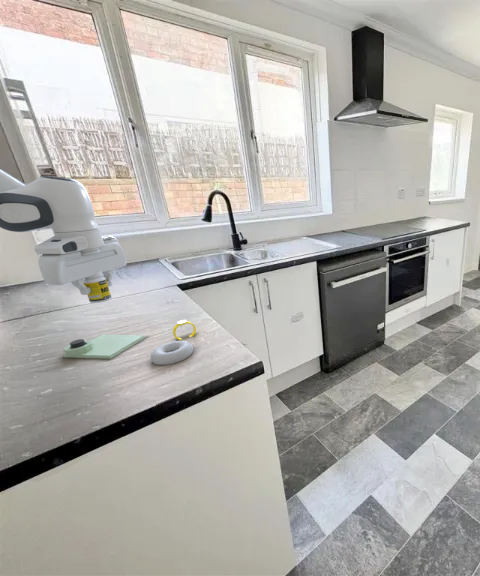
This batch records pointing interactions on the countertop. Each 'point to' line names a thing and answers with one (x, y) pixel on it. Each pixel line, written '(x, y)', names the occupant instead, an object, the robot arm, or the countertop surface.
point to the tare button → (77, 343)
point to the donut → (171, 352)
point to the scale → (103, 346)
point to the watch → (184, 324)
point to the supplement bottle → (97, 288)
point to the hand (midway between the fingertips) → (97, 290)
